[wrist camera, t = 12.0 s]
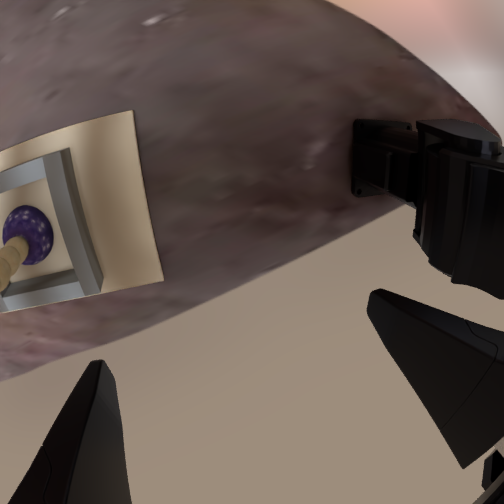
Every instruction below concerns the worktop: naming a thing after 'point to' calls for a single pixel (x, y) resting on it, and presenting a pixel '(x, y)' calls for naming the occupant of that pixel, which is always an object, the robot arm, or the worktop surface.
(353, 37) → the worktop surface
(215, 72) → the worktop surface
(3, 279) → the toy lamp
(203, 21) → the worktop surface
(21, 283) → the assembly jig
